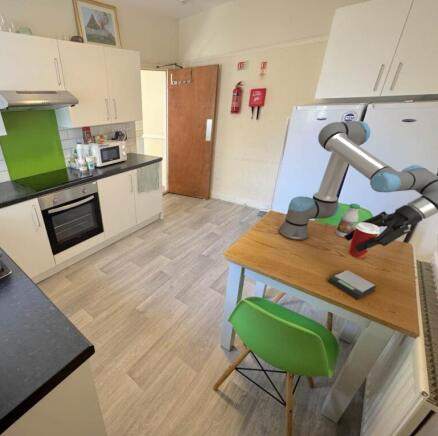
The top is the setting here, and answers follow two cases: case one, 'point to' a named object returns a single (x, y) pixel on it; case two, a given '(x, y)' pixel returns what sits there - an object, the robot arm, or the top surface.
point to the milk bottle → (348, 220)
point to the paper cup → (362, 238)
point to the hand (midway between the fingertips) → (351, 243)
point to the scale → (352, 284)
